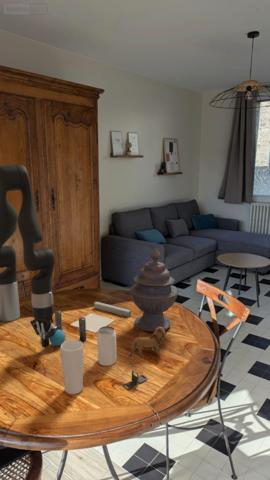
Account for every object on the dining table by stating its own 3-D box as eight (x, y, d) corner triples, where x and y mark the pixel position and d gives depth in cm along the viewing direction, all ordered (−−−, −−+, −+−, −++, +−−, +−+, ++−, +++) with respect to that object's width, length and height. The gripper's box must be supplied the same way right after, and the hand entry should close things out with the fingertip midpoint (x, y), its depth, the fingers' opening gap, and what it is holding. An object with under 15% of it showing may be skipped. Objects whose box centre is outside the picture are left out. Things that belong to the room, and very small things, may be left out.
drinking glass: (64, 383, 109) (61, 340, 106) (85, 382, 109) (83, 339, 106) (61, 397, 102) (58, 351, 99) (84, 396, 103) (82, 350, 100)
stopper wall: (94, 307, 167) (94, 303, 167) (96, 306, 169) (96, 301, 168) (128, 317, 156) (128, 312, 156) (130, 315, 158) (130, 310, 158)
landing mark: (70, 325, 149) (70, 324, 149) (91, 313, 161) (91, 313, 161) (95, 333, 142) (95, 332, 142) (115, 320, 153) (115, 320, 153)
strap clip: (142, 376, 113) (142, 364, 112) (148, 380, 111) (148, 368, 110) (121, 386, 108) (121, 374, 107) (127, 391, 105) (127, 379, 104)
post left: (54, 332, 143) (53, 312, 141) (59, 329, 145) (57, 309, 143) (59, 333, 141) (57, 313, 140) (63, 331, 144) (62, 311, 142)
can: (113, 367, 117) (113, 335, 115) (95, 365, 119) (94, 333, 116) (118, 357, 124) (117, 326, 121) (101, 355, 125) (100, 324, 122)
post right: (78, 340, 136) (77, 319, 134) (82, 337, 138) (81, 316, 136) (83, 342, 134) (82, 320, 133) (87, 339, 137) (86, 318, 135)
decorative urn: (120, 330, 142) (124, 247, 136) (138, 314, 160) (143, 240, 155) (167, 341, 135) (174, 254, 129) (180, 323, 153) (187, 246, 147)
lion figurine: (161, 345, 132) (161, 323, 130) (168, 351, 127) (168, 329, 125) (126, 354, 125) (125, 332, 123) (132, 361, 121) (132, 338, 119)
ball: (52, 325, 133) (61, 329, 137) (43, 339, 131) (53, 343, 135) (61, 331, 129) (71, 335, 133) (52, 345, 127) (62, 350, 132)
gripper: (22, 302, 125) (25, 346, 129) (47, 310, 118) (50, 356, 122) (38, 296, 132) (41, 337, 135) (63, 303, 124) (65, 347, 128)
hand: (45, 346), depth 129 cm, fingers closed
